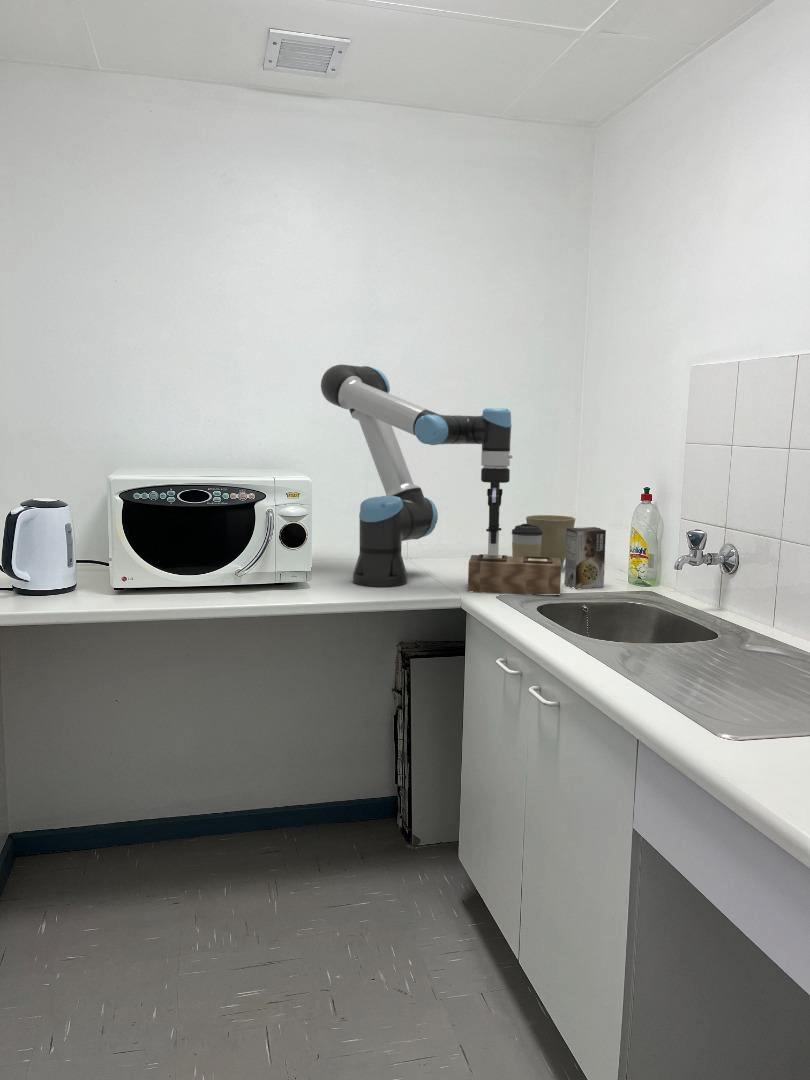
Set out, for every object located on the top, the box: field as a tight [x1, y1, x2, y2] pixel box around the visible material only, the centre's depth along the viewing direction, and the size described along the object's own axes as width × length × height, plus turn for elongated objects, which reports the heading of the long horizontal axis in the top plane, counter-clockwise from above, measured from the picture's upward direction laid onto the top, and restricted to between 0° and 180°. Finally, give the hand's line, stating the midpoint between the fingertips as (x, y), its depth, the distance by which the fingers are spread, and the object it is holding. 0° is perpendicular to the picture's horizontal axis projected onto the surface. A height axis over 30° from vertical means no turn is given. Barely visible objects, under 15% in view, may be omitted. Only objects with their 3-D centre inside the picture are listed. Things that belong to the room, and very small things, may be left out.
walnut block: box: [467, 553, 562, 595], centre depth 222 cm, size 24×12×9 cm, turn 82°
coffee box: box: [563, 526, 607, 589], centre depth 227 cm, size 9×6×16 cm
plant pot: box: [525, 514, 576, 568], centre depth 254 cm, size 15×15×16 cm
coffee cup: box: [511, 523, 543, 557], centre depth 241 cm, size 9×9×15 cm
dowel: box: [483, 553, 502, 559], centre depth 222 cm, size 5×5×6 cm
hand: (493, 555), depth 222 cm, fingers closed
